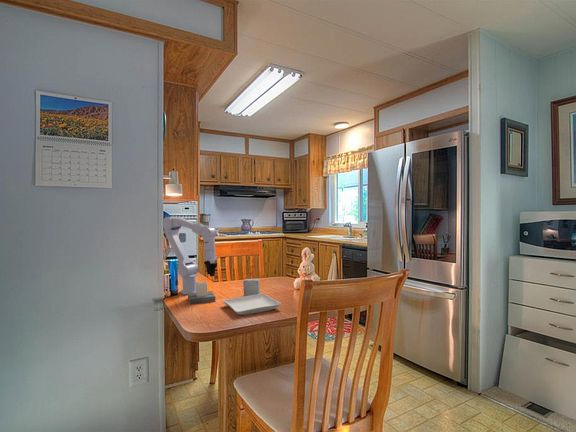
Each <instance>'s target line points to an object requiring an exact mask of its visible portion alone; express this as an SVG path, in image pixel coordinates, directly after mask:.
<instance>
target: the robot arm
mask: <svg viewBox="0 0 576 432" xmlns="http://www.w3.org/2000/svg"><path fill="white" fill-rule="evenodd" d="M162 224H163V226H162V227H163V230H164V235H165V237H166V238H167V241H168V243H169V245H170V247H171V249H172V251H173V253H174V254H175V257H176V259H177V261H178V265H177V269H178V273H179V276H181V278H182V279H181V281H182V289H181V290H180V292H181V294H182V295H184V296H185V295H188V294H192V293H196V283H197V274H198V273H199V266H198V264H197V263H196V262H195V261H194V260H193V259H192V258H190V257H189V255H188V253H187V251H186V249H185V248H184V245H183V244H182V242H181V240H180V237H179V236H178V233H179V232H180V229H181V228H182V227H183V228H187V229H190V230H191V232H192V233H194V234H196V235H199V236H201V237H202V240H203V249H204V252H203V253H204V259H203V260H204V261H203V263H204V266H205V268H206V272H207V275H209V277H215V273H216V268H217V266H218V262H215V260H218V259H219V257H217V256H216V241H215V240H216V238H215V237H217V229H216V228H215V227H213V226H211V227H209V226H208V225H205V224H202V222H200V221H199V222H195V223H194V222H192V221H189V220H187V219H185V218H184V217H180V216H166V217H165V218H163V220H162Z"/></svg>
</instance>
